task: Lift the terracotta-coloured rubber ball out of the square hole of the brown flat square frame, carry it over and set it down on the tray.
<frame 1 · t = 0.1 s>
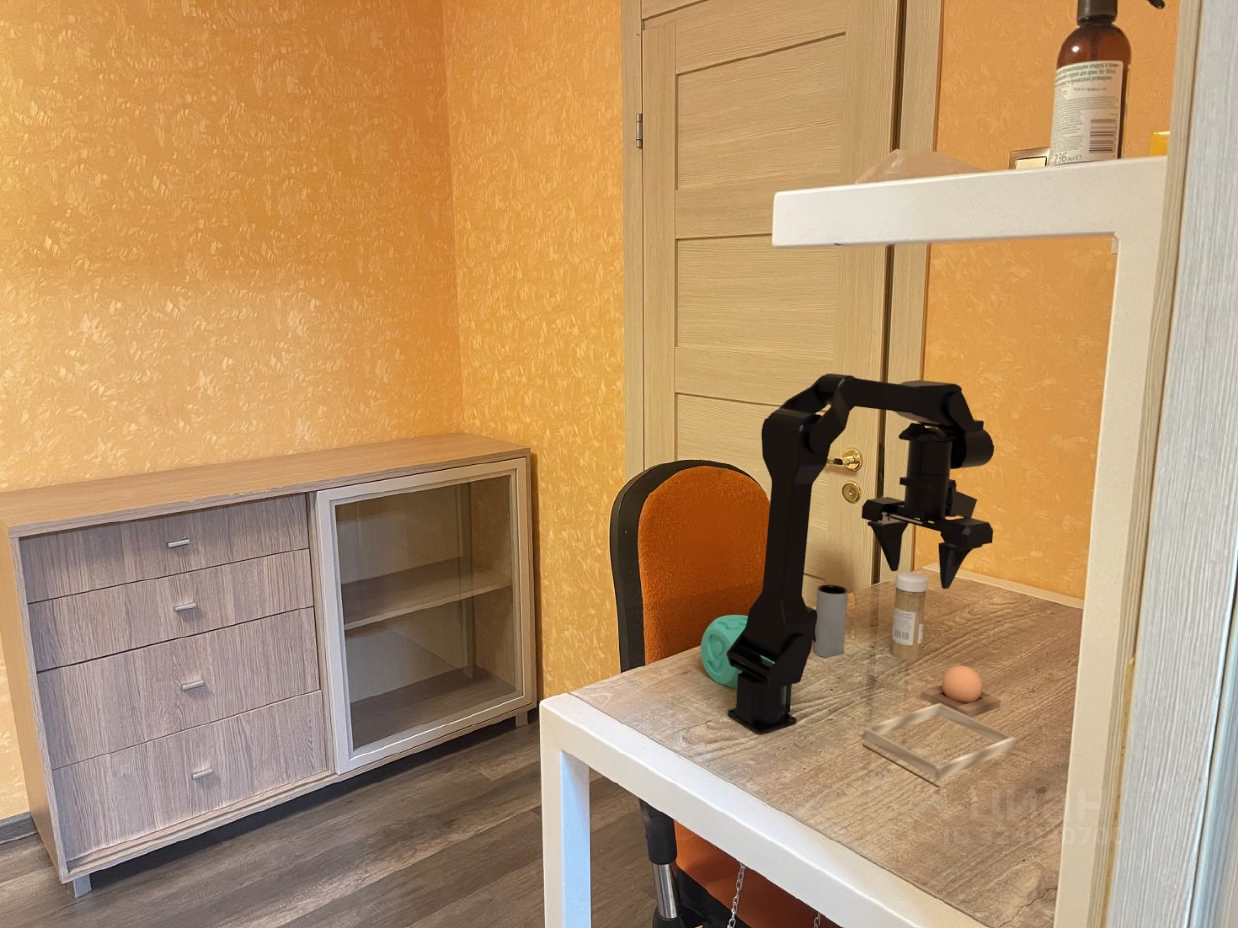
hand: (919, 579, 126), 15 cm above the table, tool pointing down, fingers open, 9 cm apart
ball: (960, 702, 118), point 1 cm above the table, touching brown flat square frame
sprinkles bottle: (905, 662, 134), on the table
grey hollow cylinder: (828, 654, 137), on the table
brown flat square frame: (959, 709, 118), on the table
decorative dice: (737, 678, 127), on the table
tray: (937, 750, 107), on the table
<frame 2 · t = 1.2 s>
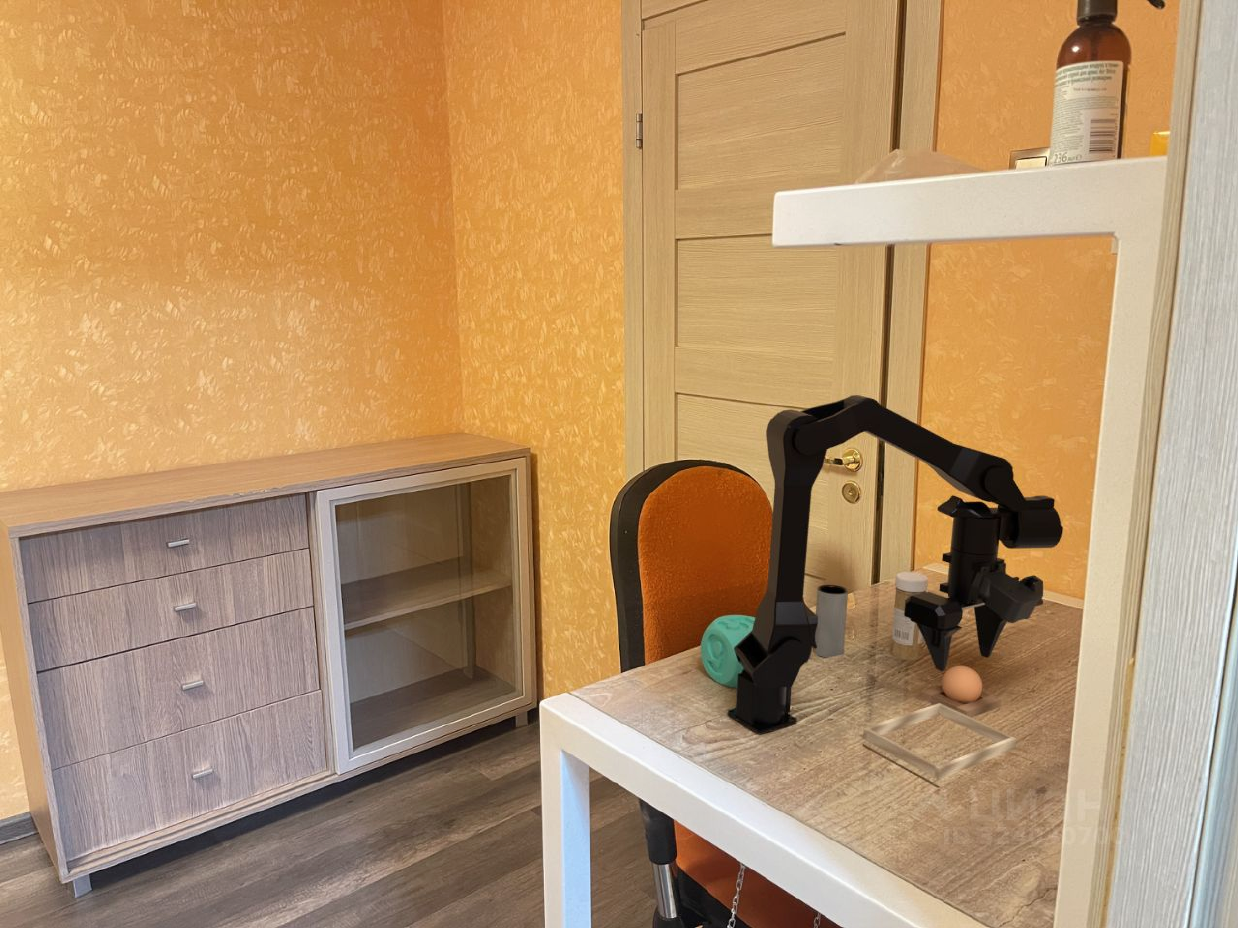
hand: (963, 663, 117), 7 cm above the table, tool pointing down, fingers open, 9 cm apart
nothing on the table moved.
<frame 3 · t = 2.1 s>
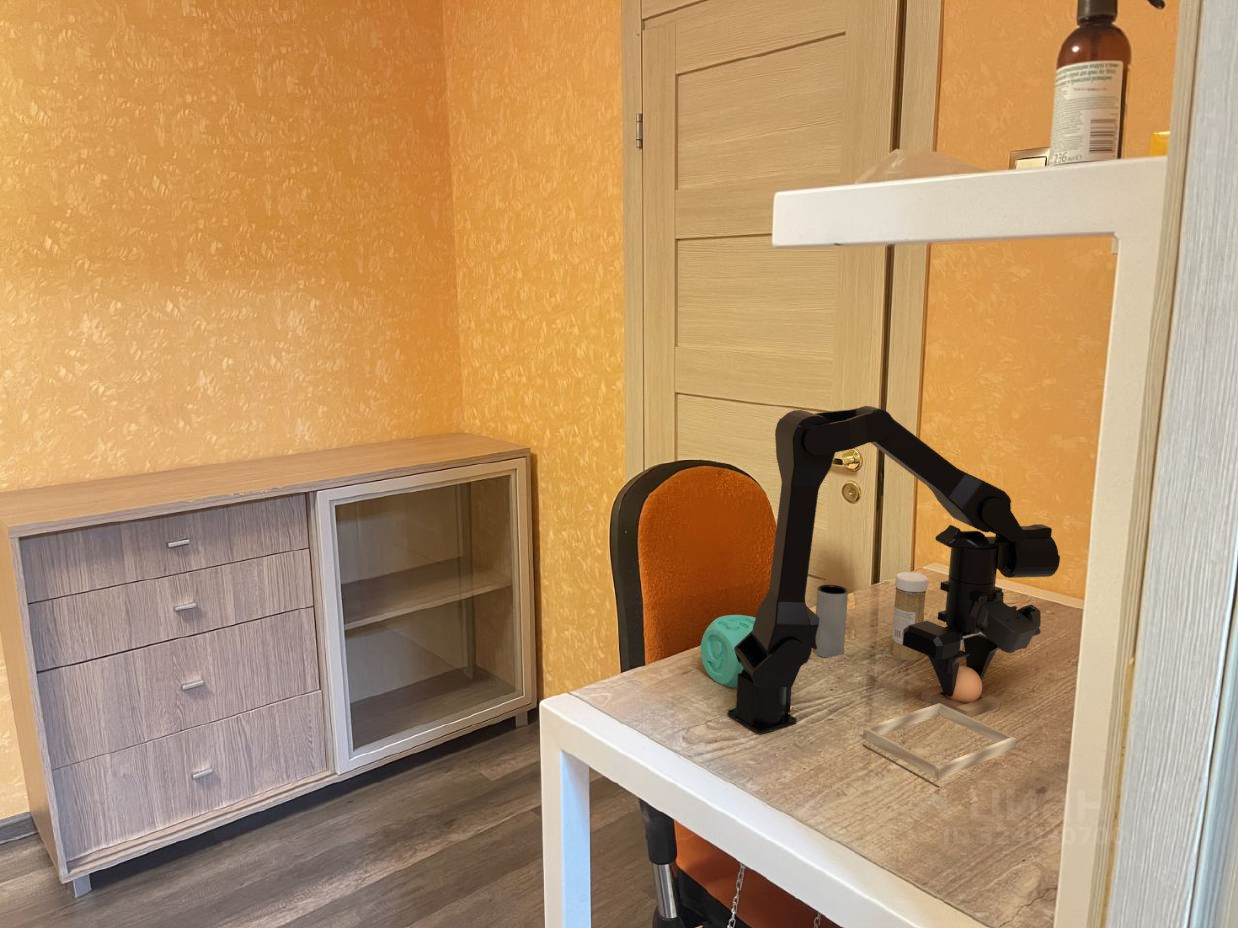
hand: (961, 690, 118), 3 cm above the table, tool pointing down, fingers closed on ball, 5 cm apart
ball: (960, 702, 118), point 1 cm above the table, touching gripper, brown flat square frame
everything else where it was.
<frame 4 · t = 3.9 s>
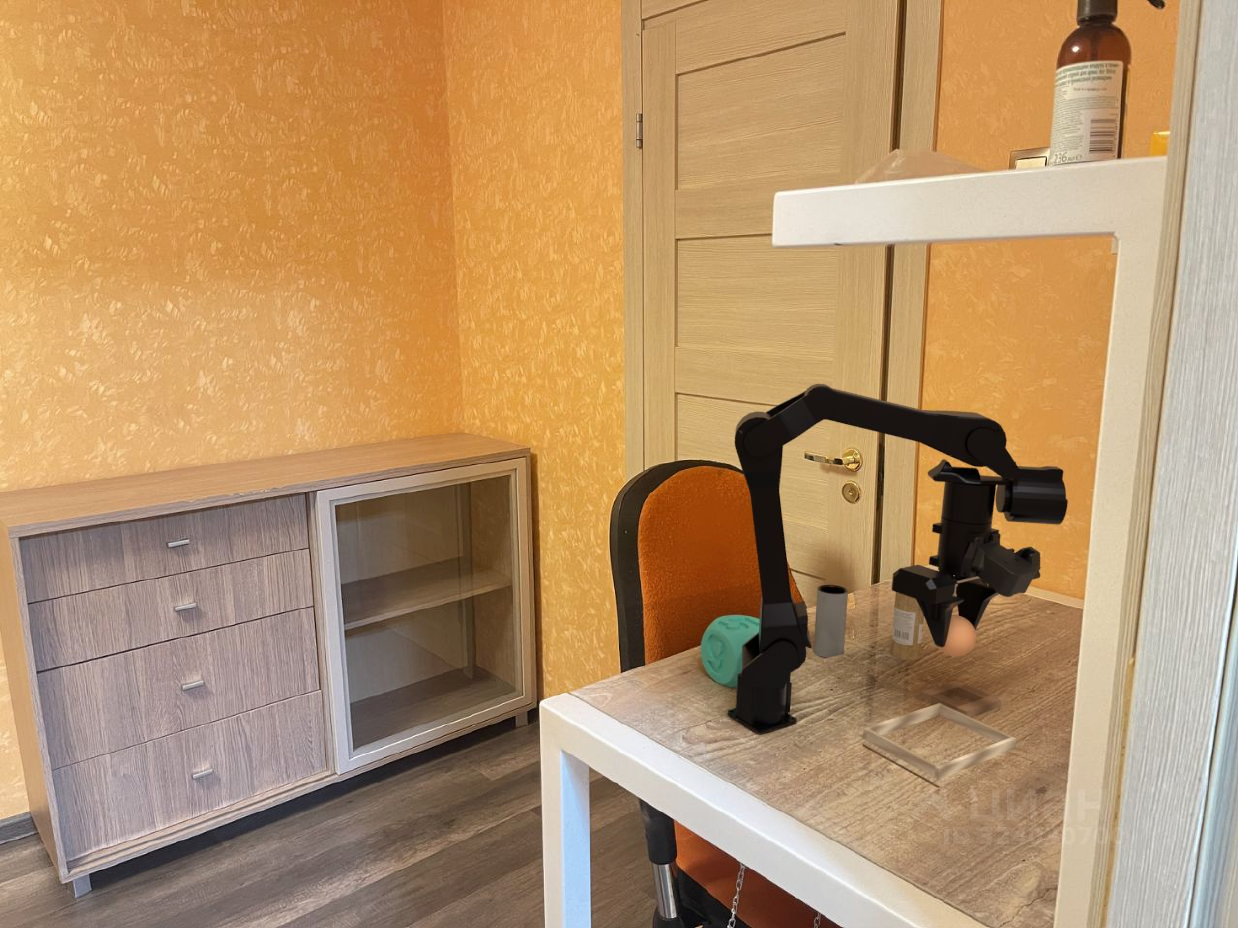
hand: (953, 642, 109), 12 cm above the table, tool pointing down, fingers closed on ball, 5 cm apart
ball: (952, 654, 109), point 11 cm above the table, touching gripper
everything else where it was.
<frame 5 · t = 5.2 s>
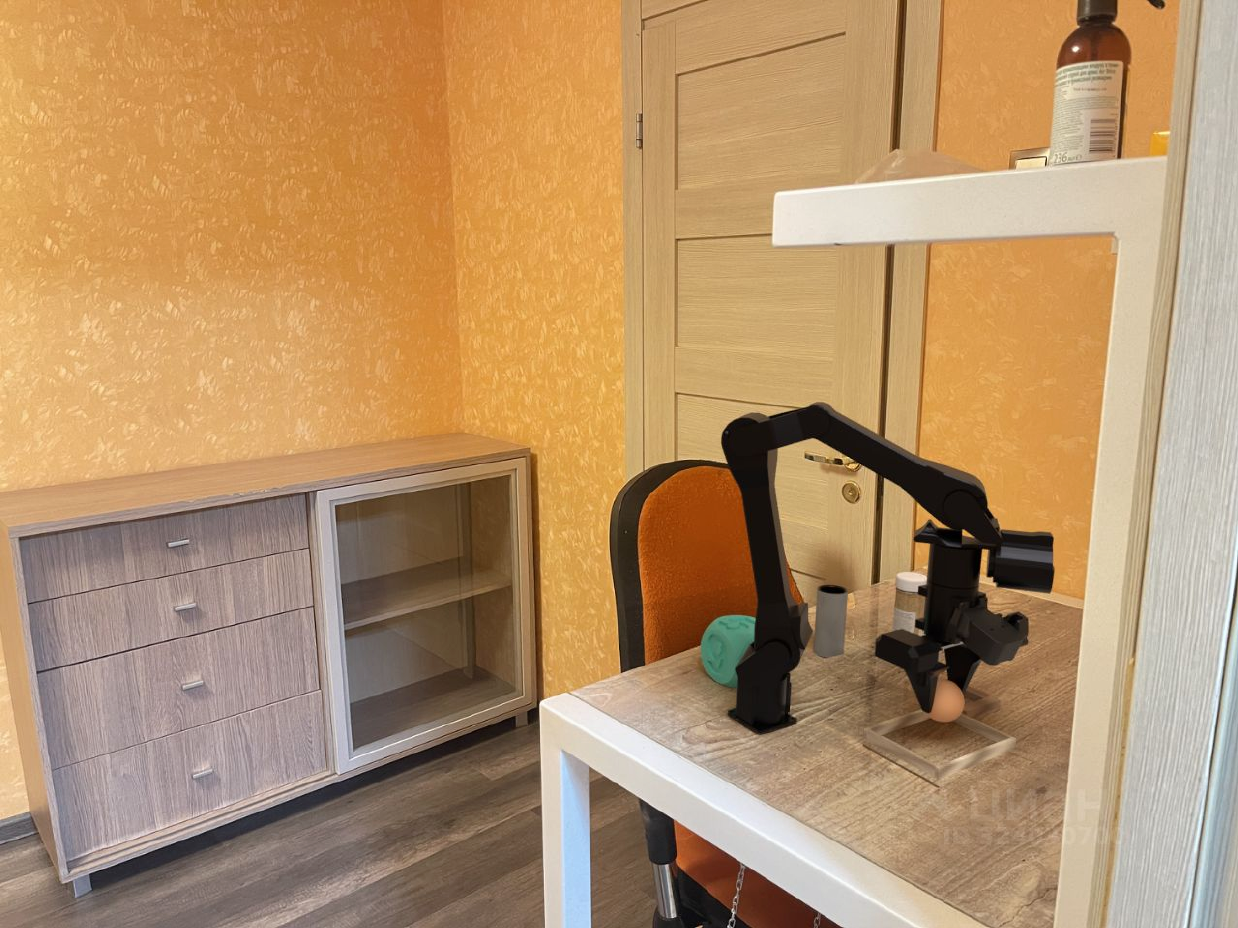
hand: (941, 706, 106), 6 cm above the table, tool pointing down, fingers closed on ball, 5 cm apart
ball: (940, 719, 106), point 4 cm above the table, touching gripper
everything else where it was.
when the fingers open (4 cm above the table, at t = 5.9 s): ball drops 2 cm, resting on tray.
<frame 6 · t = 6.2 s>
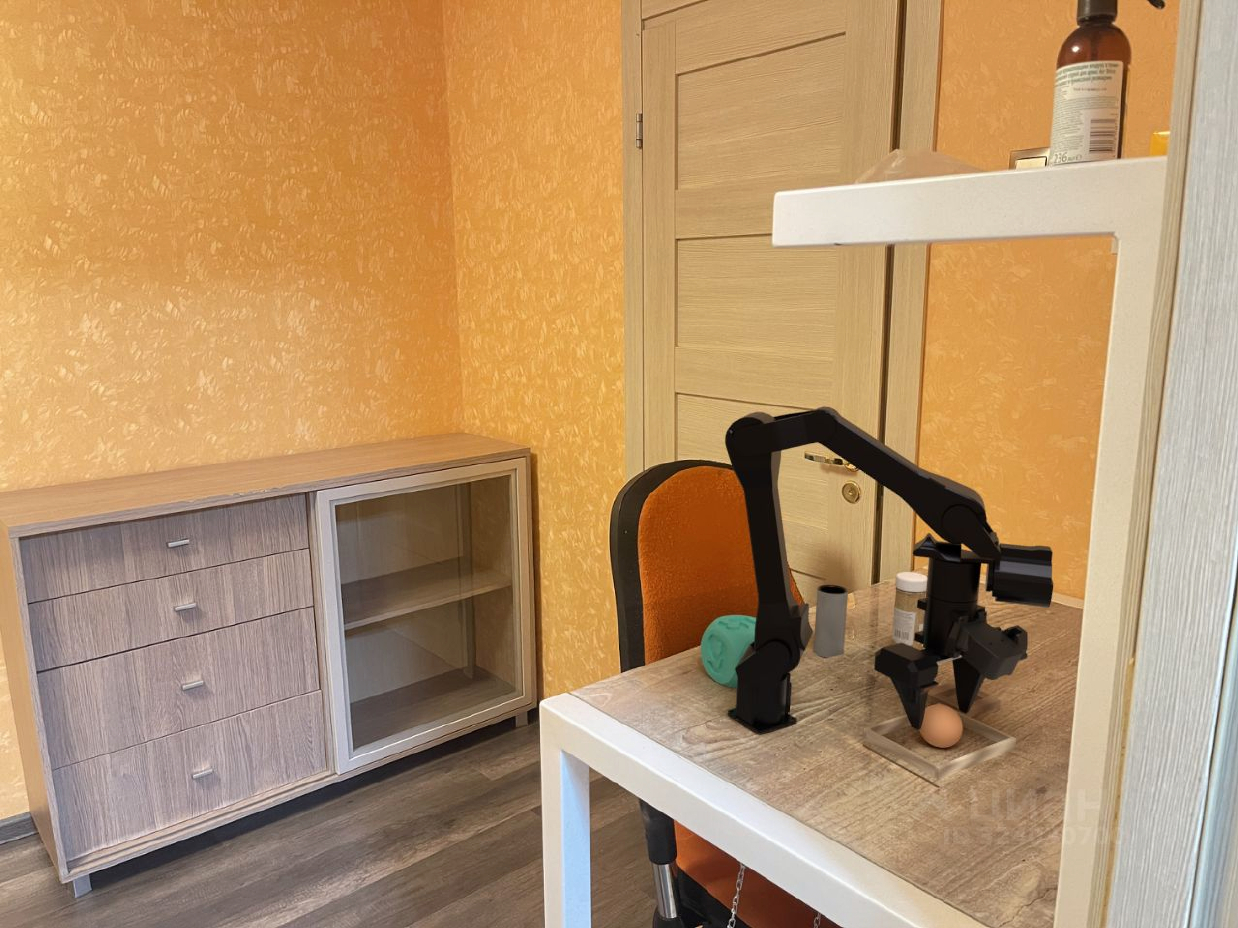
hand: (940, 719, 106), 4 cm above the table, tool pointing down, fingers open, 8 cm apart
ball: (938, 745, 107), point 1 cm above the table, touching tray
everything else where it was.
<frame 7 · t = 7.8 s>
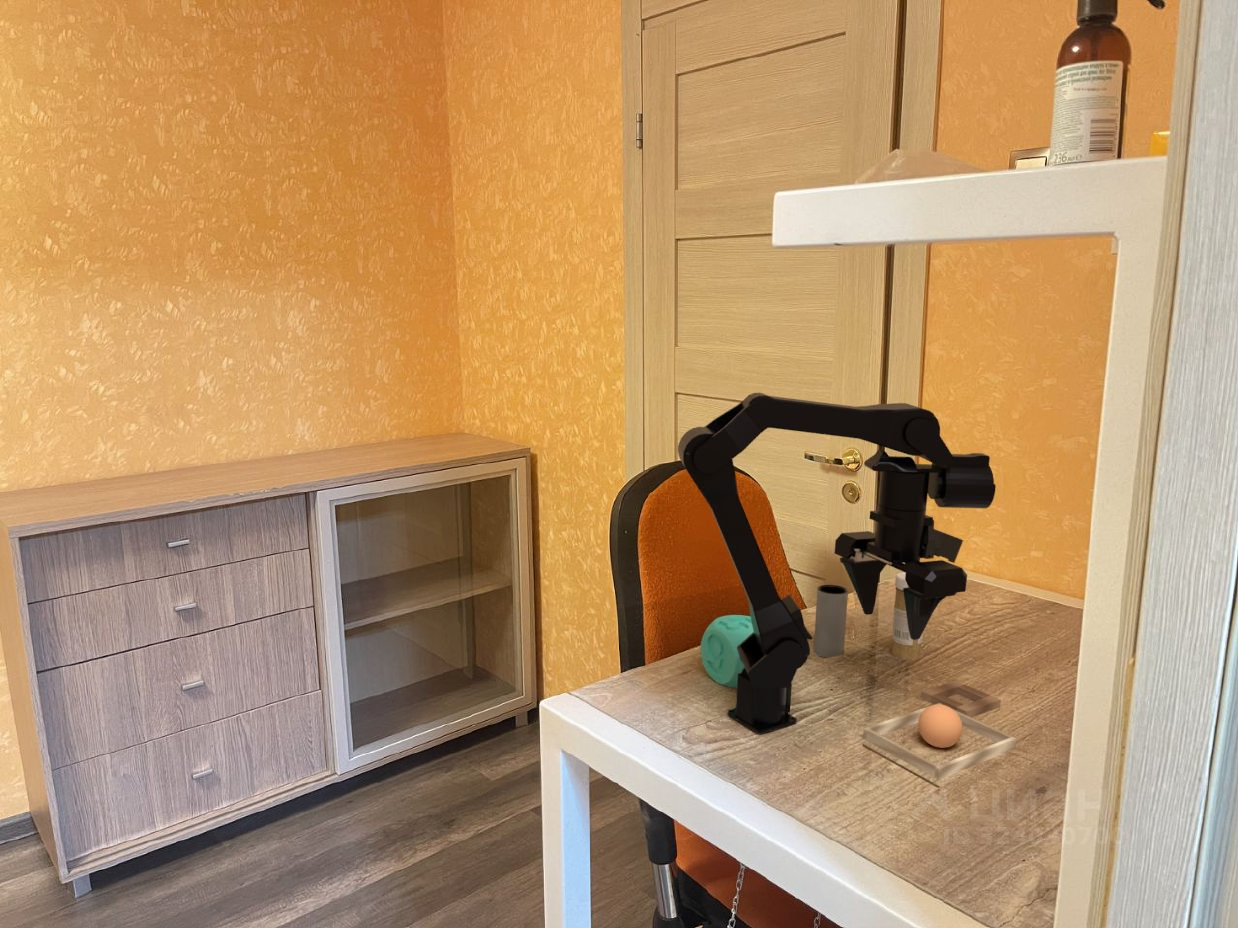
hand: (890, 626, 113), 13 cm above the table, tool pointing down, fingers open, 9 cm apart
nothing on the table moved.
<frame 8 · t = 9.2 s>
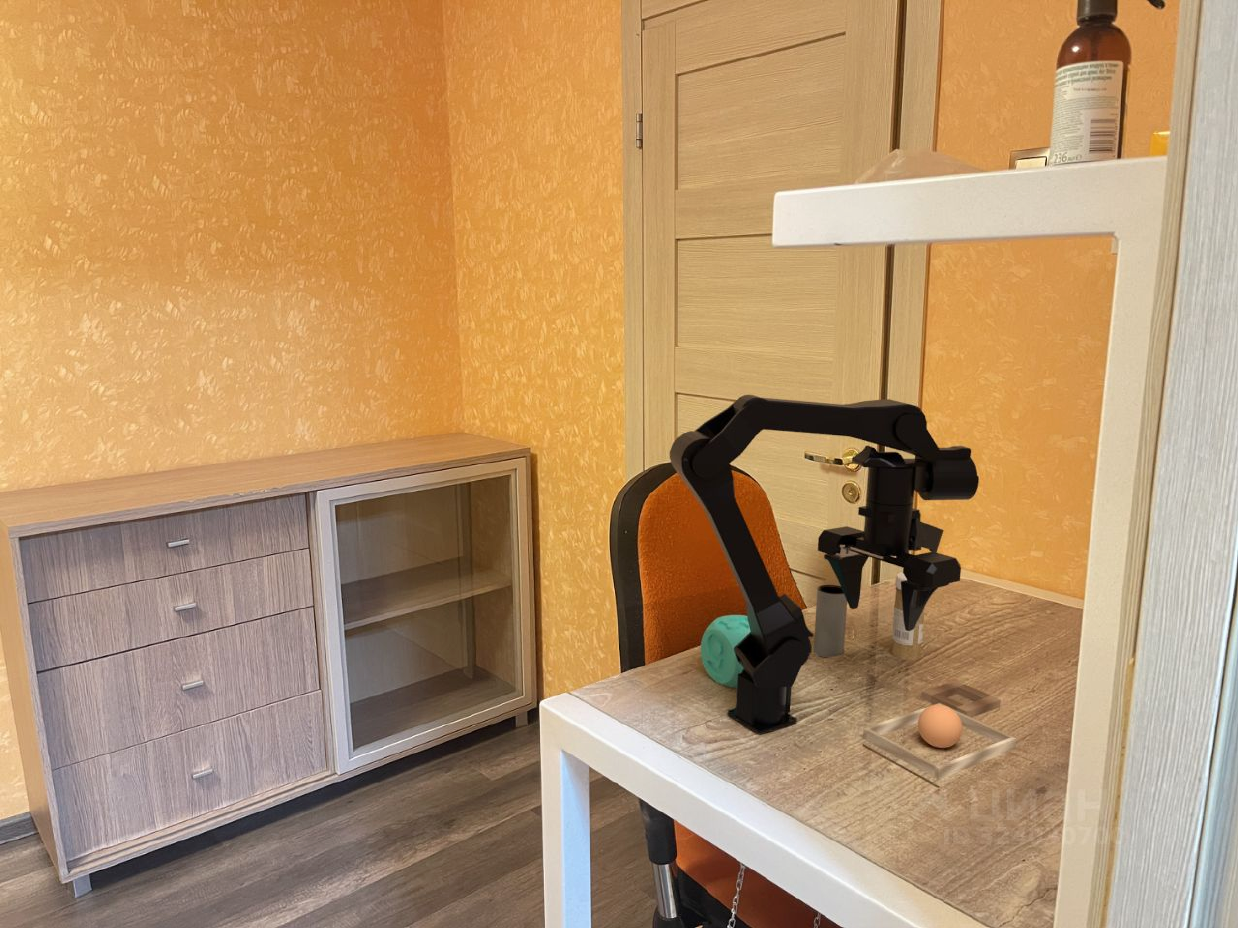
hand: (880, 618, 114), 13 cm above the table, tool pointing down, fingers open, 9 cm apart
nothing on the table moved.
at the end: ball inside the target area on the tray (0.0 cm from its centre), point 0.8 cm above the tray's base; the gripper is holding nothing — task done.
